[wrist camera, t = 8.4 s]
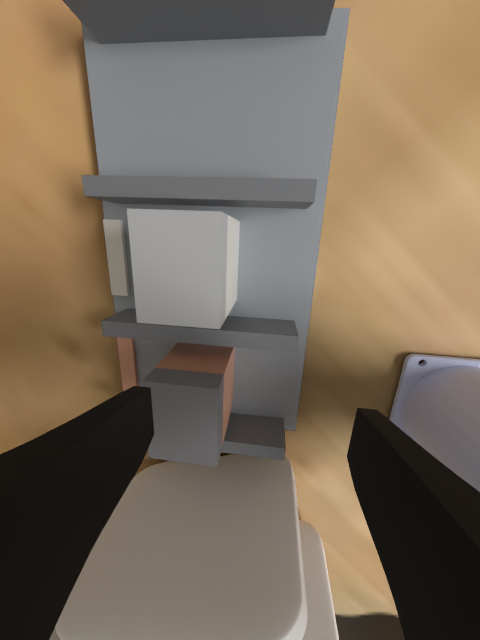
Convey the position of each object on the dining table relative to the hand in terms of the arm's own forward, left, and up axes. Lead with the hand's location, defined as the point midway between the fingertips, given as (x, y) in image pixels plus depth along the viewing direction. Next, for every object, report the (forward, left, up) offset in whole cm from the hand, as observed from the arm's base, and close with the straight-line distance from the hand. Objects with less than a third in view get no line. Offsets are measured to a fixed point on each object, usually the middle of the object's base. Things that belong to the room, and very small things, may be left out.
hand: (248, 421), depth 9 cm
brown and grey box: (+4, +4, -9) cm, 11 cm away
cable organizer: (+2, +17, -11) cm, 20 cm away
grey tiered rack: (+4, -4, -10) cm, 12 cm away
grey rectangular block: (+4, -5, -9) cm, 11 cm away
